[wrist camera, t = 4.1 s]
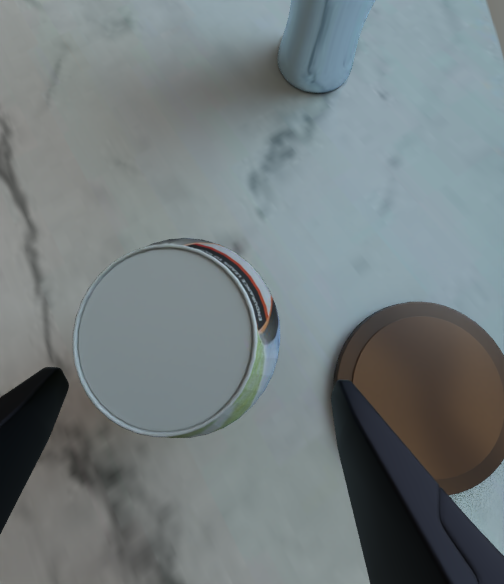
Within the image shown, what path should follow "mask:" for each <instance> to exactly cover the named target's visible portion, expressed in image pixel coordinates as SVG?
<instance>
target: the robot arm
mask: <svg viewBox="0 0 504 584" xmlns="http://www.w3.org/2000/svg"><path fill="white" fill-rule="evenodd" d="M68 388H69V384H68V381H67V379H66V377H65V375H64V373H63V371H62V370H61V369H60V368H58V367H46V368H43V369H42V370H40V371H39V372H37V373H36V374H34V375H33V376H31V377H30V378H29V379H27V380H26V381H24V382H23V383H21V384H20V385H18V386H17V387H15V388H14V389H12V390H11V391H9V392H8V393H7V394H5V395H4V396H2V397H1V398H0V534H1V532H2V530H3V528H4V526H5V524H6V522H7V520H8V518H9V516H10V514H11V512H12V510H13V508H14V506H15V504H16V502H17V500H18V498H19V496H20V494H21V492H22V490H23V489H24V487H25V485H26V483H27V481H28V479H29V477H30V475H31V473H32V471H33V469H34V467H35V465H36V463H37V461H38V459H39V457H40V455H41V453H42V451H43V449H44V447H45V445H46V443H47V441H48V439H49V437H50V435H51V432H52V430H53V427H54V425H55V422H56V420H57V417H58V415H59V412H60V409H61V407H62V404H63V402H64V399H65V397H66V394H67V391H68ZM331 402H332V409H333V417H334V425H335V432H336V440H337V446H338V451H339V456H340V460H341V464H342V468H343V472H344V476H345V481H346V485H347V489H348V493H349V497H350V501H351V505H352V509H353V514H354V518H355V522H356V526H357V530H358V534H359V538H360V543H361V547H362V551H363V555H364V559H365V563H366V567H367V572H368V576H369V580H370V584H504V556H503V555H502V554H501V553H500V552H499V551H498V550H497V549H496V547H495V546H494V545H493V544H492V543H491V542H490V541H489V540H488V539H487V538H486V537H485V536H484V535H483V534H482V533H481V532H480V530H479V529H478V528H477V527H476V526H475V525H474V524H473V523H472V522H471V521H470V520H469V518H468V517H467V516H466V515H465V514H464V513H463V512H462V510H461V509H460V508H459V507H458V506H457V505H456V504H455V503H454V501H453V500H452V499H451V498H450V497H449V496H448V494H447V493H446V492H445V491H444V490H443V488H441V487H440V488H439V484H438V483H437V482H436V480H435V479H434V478H433V477H432V476H431V474H430V473H429V472H428V471H427V470H426V469H425V467H424V466H423V465H422V464H421V463H420V462H419V460H418V459H417V458H416V457H415V456H414V454H413V453H412V452H411V451H410V450H409V449H408V447H407V446H406V445H405V444H404V443H403V442H402V440H401V439H400V438H399V437H398V436H397V434H396V433H395V432H394V431H393V430H392V429H391V427H390V426H389V425H388V424H387V423H386V422H385V420H384V419H383V418H382V417H381V416H380V414H379V413H378V412H377V411H376V410H375V409H374V407H373V406H372V405H371V404H370V403H369V402H368V400H367V399H366V398H365V397H364V396H363V394H362V393H361V392H360V391H359V390H358V389H357V387H356V386H355V385H354V384H353V383H352V382H351V381H350V380H337V382H336V384H335V387H334V389H333V392H332V395H331Z"/></svg>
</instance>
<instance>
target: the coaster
mask: <svg viewBox="0 0 504 584" xmlns="http://www.w3.org/2000/svg"><path fill="white" fill-rule="evenodd" d="M337 380H350V381H351V382H352V383H353V384H354V385H355V386H356V387H357V389H358V390H359V391H360V392H361V393H362V394H363V396H364V397H365V398H366V399H367V400H368V402H369V403H370V404H371V405H372V406H373V407H374V409H375V410H376V411H377V412H378V413H379V414H380V416H381V417H382V418H383V419H384V420H385V422H386V423H387V424H388V425H389V426H390V427H391V429H392V430H393V431H394V432H395V433H396V434H397V436H398V437H399V438H400V439H401V440H402V442H403V443H404V444H405V445H406V446H407V447H408V449H409V450H410V451H411V452H412V453H413V454H414V456H415V457H416V458H417V459H418V460H419V462H420V463H421V464H422V465H423V466H424V467H425V469H426V470H427V471H428V472H429V473H430V474H431V476H432V477H433V478H434V479H435V480H436V482H437V483H438V484H439V488H440V487H441V488H443V490H444V491H445V492H446V493H447V494H448V495H452V494H457V493H461V492H463V491H466V490H468V489H471V488H473V487H474V486H476V485H478V484H480V483H481V482H483V481H484V480H485V479H486V478H488V477H489V476H490V475H491V474H492V473H493V472H494V471H495V470H496V469H497V468H498V466H499V465H500V464H501V462H502V461H503V459H504V355H503V353H502V352H501V350H500V348H499V347H498V346H497V344H496V343H495V341H494V340H493V339H492V338H491V337H490V336H489V334H488V333H487V332H486V331H485V330H484V329H483V328H482V327H480V326H479V325H478V324H477V323H476V322H474V321H473V320H472V319H470V318H469V317H467V316H466V315H464V314H462V313H460V312H458V311H456V310H454V309H451V308H449V307H446V306H443V305H439V304H435V303H429V302H407V303H401V304H396V305H393V306H389V307H386V308H384V309H381V310H379V311H377V312H375V313H374V314H372V315H371V316H369V317H368V318H366V319H365V320H364V321H363V322H362V323H360V324H359V325H358V326H357V327H356V329H355V330H354V331H353V332H352V333H351V334H350V336H349V338H348V339H347V341H346V342H345V344H344V346H343V348H342V350H341V353H340V355H339V358H338V362H337V365H336V370H335V376H334V387H335V384H336V382H337Z"/></svg>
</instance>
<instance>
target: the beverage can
mask: <svg viewBox="0 0 504 584" xmlns="http://www.w3.org/2000/svg"><path fill="white" fill-rule="evenodd" d="M279 344H280V324H279V317H278V313H277V309H276V305H275V303H274V300H273V298H272V296H271V293H270V291H269V289H268V287H267V286H266V284H265V282H264V281H263V279H262V278H261V276H260V275H259V274H258V273H257V271H256V270H255V269H254V268H253V267H252V266H251V265H250V264H249V263H248V262H247V261H246V260H244V259H243V258H242V257H240V256H239V255H237V254H236V253H235V252H233V251H231V250H229V249H227V248H225V247H223V246H221V245H219V244H215V243H212V242H209V241H205V240H200V239H190V238H181V239H169V240H165V241H161V242H157V243H153V244H151V245H149V246H146V247H143V248H139V249H137V250H134V251H132V252H130V253H127V254H125V255H123V256H122V257H120V258H119V259H117V260H116V261H114V262H113V263H111V264H110V265H109V266H108V267H107V268H106V269H105V270H103V271H102V272H101V273H100V274H99V275H98V277H97V278H96V279H95V280H94V282H93V283H92V284H91V286H90V287H89V288H88V290H87V292H86V294H85V296H84V298H83V299H82V301H81V304H80V307H79V309H78V312H77V315H76V319H75V324H74V330H73V355H74V362H75V367H76V370H77V373H78V377H79V380H80V382H81V384H82V386H83V388H84V390H85V392H86V394H87V396H88V397H89V398H90V399H91V401H92V402H93V403H94V405H95V406H96V407H97V409H99V410H100V411H101V412H102V413H103V414H104V415H105V416H106V417H107V418H108V419H110V420H111V421H113V422H114V423H116V424H118V425H119V426H121V427H122V428H125V429H127V430H130V431H132V432H135V433H137V434H142V435H147V436H152V437H169V438H191V437H196V436H201V435H206V434H209V433H212V432H214V431H217V430H219V429H222V428H224V427H226V426H227V425H229V424H231V423H232V422H234V421H235V420H237V419H239V418H240V417H241V416H242V415H243V414H244V413H245V412H247V411H248V410H249V409H250V408H251V407H252V406H253V405H254V404H255V402H256V401H257V400H258V398H259V397H260V396H261V394H262V393H263V392H264V390H265V388H266V386H267V384H268V383H269V381H270V379H271V377H272V375H273V372H274V368H275V365H276V362H277V358H278V352H279Z"/></svg>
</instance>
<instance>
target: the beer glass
mask: <svg viewBox="0 0 504 584" xmlns="http://www.w3.org/2000/svg"><path fill="white" fill-rule="evenodd" d="M375 1H376V0H291V5H290V11H289V17H288V21H287V24H286V28H285V31H284V34H283V37H282V40H281V43H280V46H279V50H278V65H279V69H280V71H281V73H282V75H283V76H284V77H285V79H286V80H287V81H288V82H289V83H290V84H292V85H293V86H295V87H296V88H298V89H300V90H303V91H306V92H310V93H325V92H329V91H332V90H334V89H336V88H338V87H340V86H341V85H342V84H343V83H344V82H345V81H346V80H347V78H348V77H349V75H350V73H351V70H352V66H353V62H354V57H355V53H356V48H357V44H358V40H359V37H360V34H361V31H362V28H363V26H364V23H365V21H366V19H367V17H368V14H369V12H370V10H371V8H372V6H373V4H374V3H375Z"/></svg>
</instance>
